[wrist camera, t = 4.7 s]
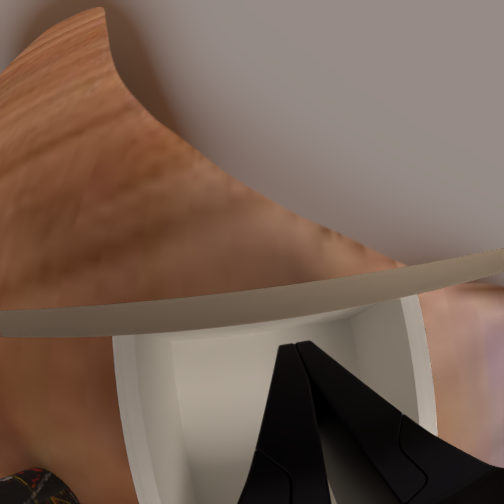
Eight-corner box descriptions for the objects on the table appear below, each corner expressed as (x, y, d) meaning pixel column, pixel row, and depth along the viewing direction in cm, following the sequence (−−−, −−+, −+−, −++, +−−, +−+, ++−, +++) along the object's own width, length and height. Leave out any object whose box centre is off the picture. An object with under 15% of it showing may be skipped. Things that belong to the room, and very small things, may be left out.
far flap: (540, 259, 4) (537, 240, 4) (0, 336, 4) (-1, 310, 4) (403, 288, 11) (401, 277, 11) (129, 325, 10) (128, 313, 11)
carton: (382, 480, 14) (436, 518, 8) (186, 514, 13) (161, 571, 7) (359, 307, 18) (414, 275, 12) (156, 334, 18) (110, 315, 11)
